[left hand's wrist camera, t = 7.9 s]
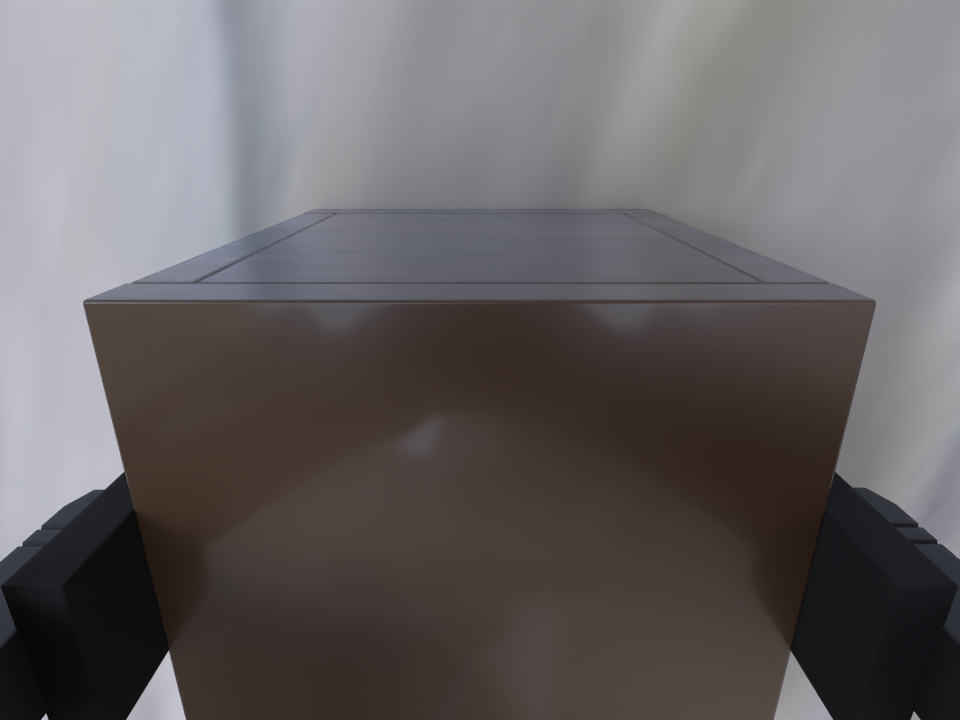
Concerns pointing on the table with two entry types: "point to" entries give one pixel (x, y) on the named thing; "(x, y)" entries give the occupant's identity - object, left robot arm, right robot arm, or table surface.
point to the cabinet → (479, 464)
